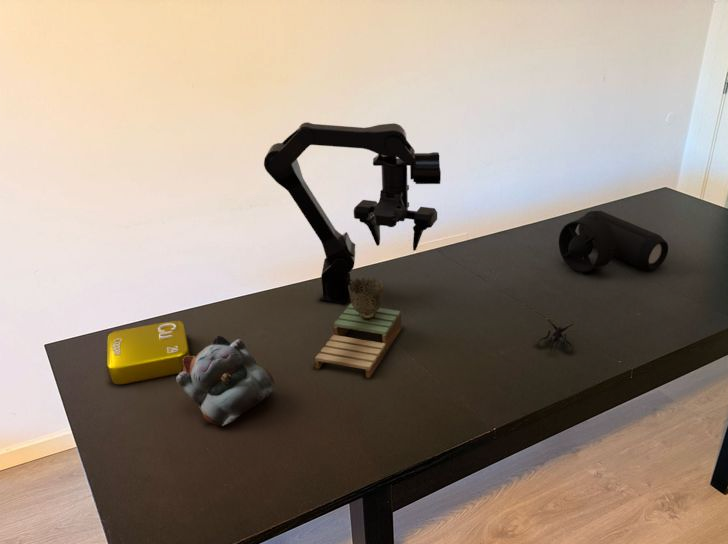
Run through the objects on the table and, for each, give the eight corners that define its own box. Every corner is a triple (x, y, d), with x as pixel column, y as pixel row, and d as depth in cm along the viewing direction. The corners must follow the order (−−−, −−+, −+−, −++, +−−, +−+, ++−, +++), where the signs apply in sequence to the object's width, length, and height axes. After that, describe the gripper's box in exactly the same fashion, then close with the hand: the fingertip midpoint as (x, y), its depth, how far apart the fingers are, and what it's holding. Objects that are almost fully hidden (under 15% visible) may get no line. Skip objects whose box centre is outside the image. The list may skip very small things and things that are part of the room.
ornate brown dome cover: (378, 327, 140) (377, 294, 136) (345, 323, 141) (343, 290, 137) (388, 310, 146) (387, 278, 142) (356, 306, 147) (354, 275, 143)
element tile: (112, 348, 140) (106, 329, 137) (186, 335, 145) (182, 316, 142) (112, 387, 129) (105, 367, 126) (192, 371, 134) (187, 351, 131)
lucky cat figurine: (207, 437, 116) (165, 371, 112) (205, 421, 128) (166, 360, 123) (283, 394, 120) (244, 329, 116) (274, 382, 131) (239, 322, 127)
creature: (569, 362, 141) (576, 337, 147) (571, 344, 137) (579, 319, 143) (534, 355, 143) (542, 330, 149) (535, 337, 140) (543, 313, 145)
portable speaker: (666, 268, 179) (673, 234, 174) (642, 277, 174) (649, 242, 169) (597, 236, 196) (602, 204, 191) (574, 244, 191) (578, 211, 186)
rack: (315, 368, 135) (313, 348, 133) (352, 321, 152) (350, 302, 149) (369, 378, 133) (368, 357, 130) (401, 329, 149) (400, 310, 146)
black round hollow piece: (551, 216, 170) (576, 207, 176) (546, 266, 178) (570, 256, 184) (595, 233, 161) (620, 223, 167) (587, 285, 169) (611, 274, 175)
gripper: (342, 190, 142) (346, 256, 151) (423, 200, 138) (423, 267, 147) (361, 175, 151) (364, 237, 160) (438, 183, 147) (437, 247, 156)
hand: (396, 247), depth 155 cm, fingers open, 9 cm apart
